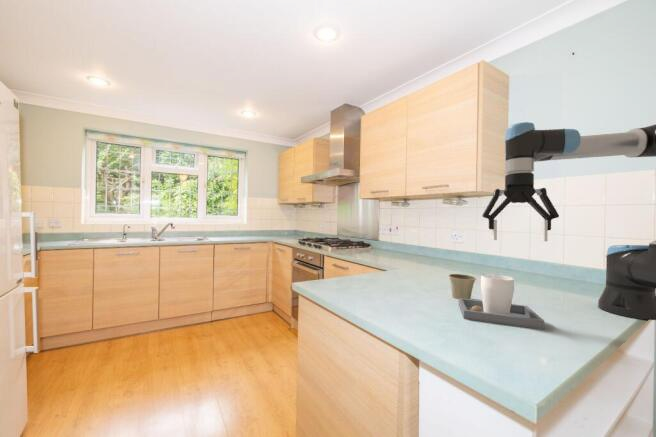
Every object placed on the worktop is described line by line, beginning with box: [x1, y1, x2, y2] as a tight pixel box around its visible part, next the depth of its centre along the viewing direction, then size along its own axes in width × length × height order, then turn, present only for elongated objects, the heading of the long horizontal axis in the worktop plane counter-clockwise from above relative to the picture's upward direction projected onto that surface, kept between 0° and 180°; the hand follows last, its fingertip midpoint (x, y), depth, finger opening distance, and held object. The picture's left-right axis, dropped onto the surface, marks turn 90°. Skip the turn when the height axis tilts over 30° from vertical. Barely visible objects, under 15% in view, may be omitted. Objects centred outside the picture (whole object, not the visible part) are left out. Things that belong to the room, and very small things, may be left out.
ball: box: [471, 305, 484, 312], centre depth 85 cm, size 4×4×4 cm
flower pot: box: [448, 273, 477, 300], centre depth 106 cm, size 9×9×9 cm
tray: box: [458, 298, 545, 330], centre depth 87 cm, size 20×14×3 cm
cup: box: [480, 273, 515, 315], centre depth 88 cm, size 9×9×12 cm
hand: (518, 240), depth 89 cm, fingers open, 13 cm apart
